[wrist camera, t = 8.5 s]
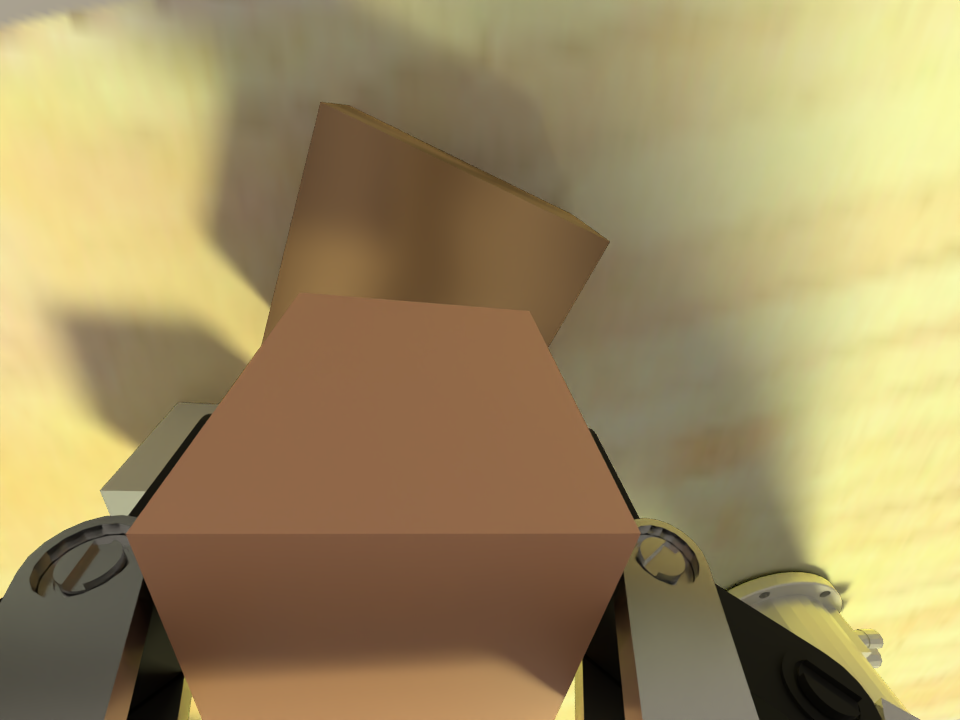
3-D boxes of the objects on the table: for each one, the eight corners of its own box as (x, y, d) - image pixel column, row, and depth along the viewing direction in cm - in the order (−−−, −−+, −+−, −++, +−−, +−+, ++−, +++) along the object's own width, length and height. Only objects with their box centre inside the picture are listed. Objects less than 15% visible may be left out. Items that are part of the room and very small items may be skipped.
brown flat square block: (570, 213, 19) (609, 241, 15) (478, 387, 23) (488, 448, 19) (350, 105, 16) (320, 101, 12) (290, 324, 21) (252, 380, 16)
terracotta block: (529, 310, 10) (640, 533, 5) (497, 472, 12) (546, 735, 7) (299, 292, 9) (125, 534, 4) (314, 468, 11) (219, 760, 6)
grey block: (301, 407, 23) (263, 493, 18) (308, 488, 26) (277, 583, 20) (178, 401, 22) (100, 490, 17) (200, 486, 25) (139, 585, 20)
